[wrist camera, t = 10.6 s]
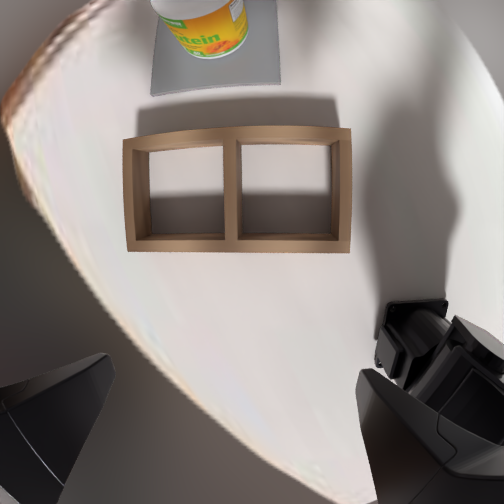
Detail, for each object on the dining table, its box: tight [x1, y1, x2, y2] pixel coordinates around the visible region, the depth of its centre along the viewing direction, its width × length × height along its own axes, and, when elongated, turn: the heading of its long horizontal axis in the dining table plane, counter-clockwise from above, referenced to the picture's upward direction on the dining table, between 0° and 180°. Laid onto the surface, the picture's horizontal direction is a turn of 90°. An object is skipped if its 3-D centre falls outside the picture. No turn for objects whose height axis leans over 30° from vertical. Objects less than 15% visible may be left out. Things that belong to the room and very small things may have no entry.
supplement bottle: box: [150, 0, 248, 59], centre depth 12 cm, size 5×5×10 cm
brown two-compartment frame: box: [123, 126, 352, 253], centre depth 19 cm, size 15×8×3 cm, turn 91°
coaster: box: [150, 0, 281, 96], centre depth 17 cm, size 10×10×1 cm
